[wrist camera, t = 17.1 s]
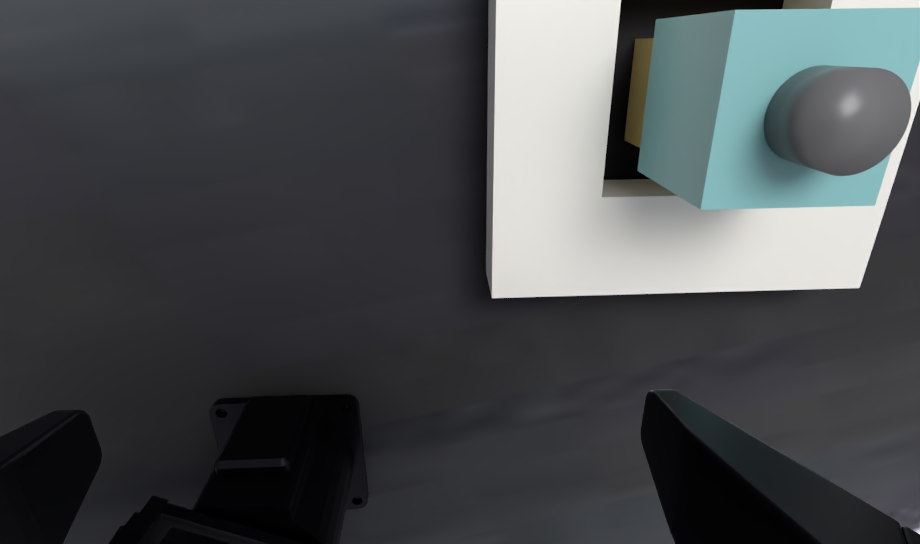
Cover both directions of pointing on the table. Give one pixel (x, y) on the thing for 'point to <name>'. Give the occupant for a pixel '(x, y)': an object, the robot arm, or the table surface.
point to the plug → (773, 104)
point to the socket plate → (630, 181)
